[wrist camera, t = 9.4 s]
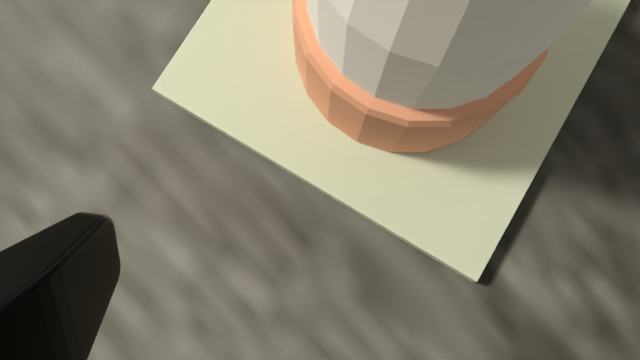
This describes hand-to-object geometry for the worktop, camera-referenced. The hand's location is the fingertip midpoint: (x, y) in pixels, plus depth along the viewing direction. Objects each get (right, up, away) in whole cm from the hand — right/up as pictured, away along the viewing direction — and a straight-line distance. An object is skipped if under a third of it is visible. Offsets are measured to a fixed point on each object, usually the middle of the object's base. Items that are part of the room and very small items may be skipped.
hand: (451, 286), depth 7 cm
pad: (+1, +6, +12) cm, 14 cm away
